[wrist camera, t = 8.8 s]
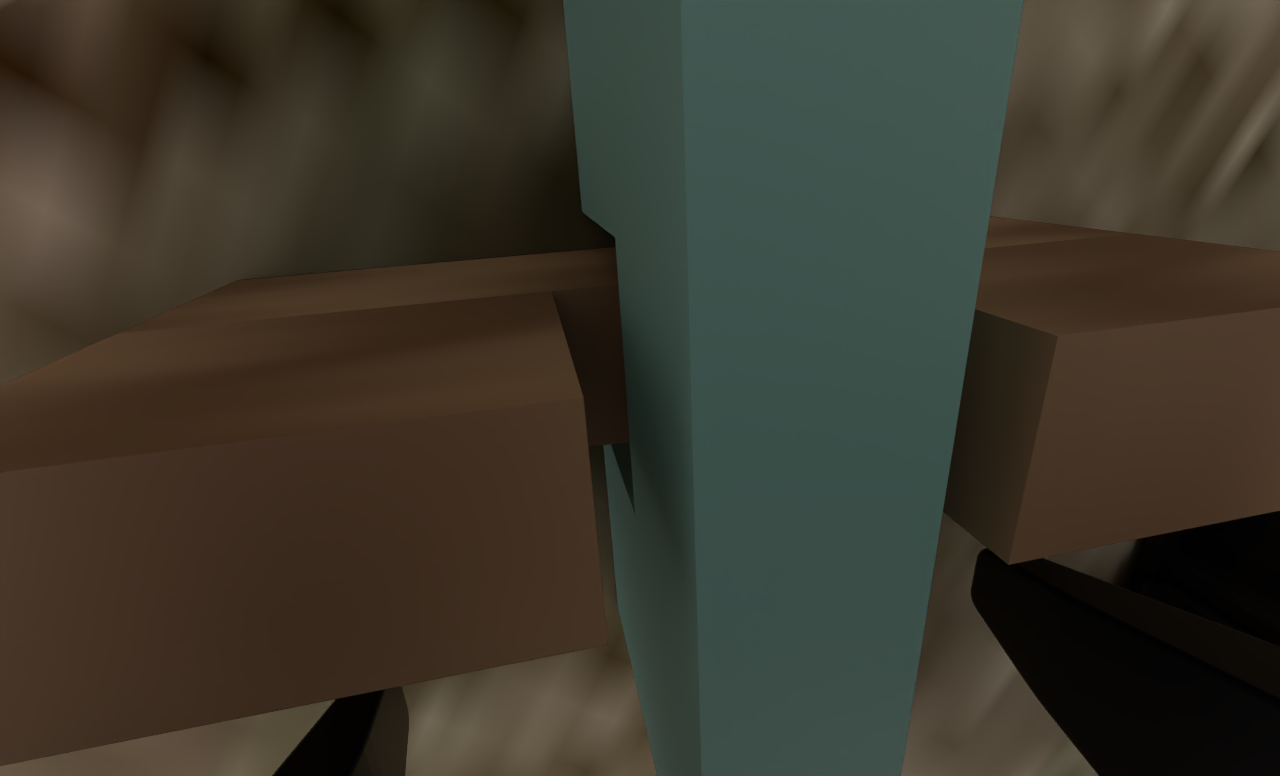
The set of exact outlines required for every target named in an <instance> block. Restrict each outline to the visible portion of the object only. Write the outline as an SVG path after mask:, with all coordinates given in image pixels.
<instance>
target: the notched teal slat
mask: <svg viewBox="0 0 1280 776" xmlns="http://www.w3.org/2000/svg"><path fill="white" fill-rule="evenodd" d="M1023 2H1024V0H563V7H564V18H565V29H566V40H567V51H568V62H569V73H570V84H571V95H572V106H573V117H574V128H575V139H576V150H577V161H578V172H579V183H580V194H581V205H582V212H583V213H584V214H585V215H587V216H588V217H589V218H591V219H592V220H593V221H595V222H596V223H597V224H598V225H600V226H601V227H602V228H604V229H605V230H606V231H607V232H609V233H610V234H611V235H613V236H614V237H615V243H616V257H617V271H618V285H619V299H620V313H621V327H622V341H623V355H624V368H625V382H626V396H627V410H628V424H629V438H630V442H623V443H616V444H609V445H603V448H604V459H605V470H606V481H607V492H608V503H609V514H610V525H611V536H612V547H613V558H614V569H615V580H616V591H617V602H618V610H619V614H620V618H621V622H622V627H623V631H624V635H625V639H626V644H627V648H628V652H629V657H630V661H631V665H632V669H633V674H634V678H635V682H636V687H637V691H638V695H639V699H640V704H641V708H642V712H643V717H644V721H645V725H646V729H647V734H648V738H649V742H650V746H651V751H652V755H653V759H654V764H655V768H656V772H657V776H901V772H902V766H903V760H904V753H905V747H906V741H907V734H908V728H909V722H910V715H911V709H912V703H913V696H914V690H915V684H916V678H917V671H918V665H919V659H920V652H921V646H922V640H923V633H924V627H925V621H926V614H927V608H928V602H929V596H930V589H931V583H932V577H933V570H934V564H935V558H936V551H937V545H938V539H939V532H940V526H941V520H942V513H943V507H944V501H945V495H946V488H947V482H948V476H949V469H950V463H951V457H952V450H953V444H954V438H955V431H956V425H957V419H958V413H959V406H960V400H961V394H962V387H963V381H964V375H965V368H966V362H967V356H968V349H969V343H970V337H971V331H972V324H973V318H974V312H975V305H976V299H977V293H978V286H979V280H980V274H981V267H982V261H983V255H984V248H985V242H986V236H987V230H988V223H989V217H990V211H991V204H992V198H993V192H994V185H995V179H996V173H997V166H998V160H999V154H1000V148H1001V141H1002V135H1003V129H1004V122H1005V116H1006V110H1007V103H1008V97H1009V91H1010V84H1011V78H1012V72H1013V66H1014V59H1015V53H1016V47H1017V40H1018V34H1019V28H1020V21H1021V15H1022V9H1023Z"/></svg>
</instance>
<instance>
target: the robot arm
mask: <svg viewBox="0 0 1280 776" xmlns="http://www.w3.org/2000/svg"><path fill="white" fill-rule="evenodd" d="M971 597H972V601H973V603H974V605H975V607H976V609H977V611H978V612H979V613H980V615H981V616H982V618H983V619H984V621H985V622H986V624H987V625H988V627H989V628H990V630H991V631H992V633H993V634H994V636H995V637H996V639H997V640H998V642H999V643H1000V645H1001V646H1002V648H1003V649H1004V651H1005V652H1006V654H1007V655H1008V656H1009V658H1010V659H1011V661H1012V662H1013V664H1014V665H1015V667H1016V668H1017V670H1018V671H1019V673H1020V674H1021V676H1022V677H1023V679H1024V680H1025V682H1026V683H1027V685H1028V686H1029V687H1030V689H1031V690H1032V692H1033V693H1034V694H1035V696H1036V697H1037V699H1038V700H1039V701H1040V703H1041V704H1042V705H1043V706H1044V708H1045V709H1046V710H1047V712H1048V713H1049V714H1050V715H1051V717H1052V718H1053V719H1054V720H1055V722H1056V723H1057V724H1058V725H1059V727H1060V728H1061V729H1062V730H1063V732H1064V733H1065V734H1066V735H1067V737H1068V738H1069V739H1070V740H1071V742H1072V743H1073V744H1074V745H1075V747H1076V748H1077V749H1078V750H1079V752H1080V753H1081V754H1082V755H1083V757H1084V758H1085V759H1086V760H1087V762H1088V763H1089V764H1090V765H1091V767H1092V768H1093V769H1094V770H1095V771H1096V773H1097V774H1098V775H1099V776H1280V511H1275V512H1270V513H1265V514H1260V515H1255V516H1250V517H1245V518H1240V519H1235V520H1230V521H1225V522H1220V523H1215V524H1210V525H1205V526H1200V527H1195V528H1190V529H1185V530H1180V531H1175V532H1170V533H1165V534H1160V535H1155V536H1150V537H1147V539H1146V542H1145V545H1144V548H1143V551H1142V554H1141V557H1140V561H1139V564H1138V567H1137V570H1136V573H1135V576H1134V579H1133V583H1132V586H1131V589H1130V590H1127V589H1124V588H1122V587H1119V586H1116V585H1114V584H1111V583H1108V582H1105V581H1103V580H1100V579H1097V578H1095V577H1092V576H1089V575H1087V574H1084V573H1081V572H1079V571H1076V570H1073V569H1071V568H1068V567H1065V566H1063V565H1060V564H1057V563H1054V562H1052V561H1049V560H1046V559H1044V558H1040V559H1035V560H1030V561H1025V562H1020V563H1015V564H1010V565H1008V564H1007V563H1006V562H1004V561H1003V560H1002V559H1001V558H999V557H998V556H997V555H996V554H995V553H993V552H992V551H991V550H990V549H988V548H986V549H983V550H981V551H980V553H979V554H978V556H977V560H976V565H975V570H974V576H973V581H972V586H971ZM408 730H409V715H408V708H407V704H406V700H405V697H404V693H403V690H402V686H398V687H393V688H388V689H383V690H378V691H373V692H368V693H363V694H358V695H353V696H348V697H343V698H338V699H335V701H334V702H333V703H332V704H331V705H330V707H329V708H328V709H327V710H326V711H325V713H324V714H323V715H322V716H321V717H320V719H319V720H318V721H317V722H316V723H315V725H314V726H313V727H312V728H311V729H310V731H309V732H308V733H307V734H306V736H305V737H304V738H303V739H302V740H301V742H300V743H299V744H298V745H297V746H296V748H295V749H294V750H293V751H292V752H291V754H290V755H289V756H288V757H287V758H286V760H285V761H284V762H283V763H282V764H281V766H280V767H279V768H278V769H277V770H276V772H275V773H274V774H273V775H272V776H405V769H406V756H407V743H408Z"/></svg>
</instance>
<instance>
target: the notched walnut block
mask: <svg viewBox="0 0 1280 776" xmlns="http://www.w3.org/2000/svg"><path fill="white" fill-rule="evenodd" d="M623 442H630V438H629V424H628V410H627V396H626V382H625V368H624V355H623V341H622V327H621V313H620V299H619V285H618V271H617V257H616V247H612V248H600V249H589V250H577V251H566V252H554V253H543V254H532V255H520V256H509V257H497V258H486V259H475V260H463V261H452V262H440V263H429V264H418V265H406V266H395V267H383V268H372V269H361V270H349V271H338V272H326V273H315V274H304V275H292V276H281V277H269V278H258V279H246V280H237V281H235V282H232V283H230V284H228V285H226V286H223V287H221V288H219V289H217V290H214V291H212V292H210V293H208V294H205V295H203V296H201V297H199V298H196V299H194V300H192V301H190V302H187V303H185V304H183V305H181V306H178V307H176V308H174V309H172V310H169V311H167V312H165V313H163V314H160V315H158V316H156V317H154V318H151V319H149V320H147V321H145V322H142V323H140V324H138V325H136V326H133V327H131V328H129V329H127V330H124V331H122V332H120V333H118V334H115V335H113V336H111V337H109V338H106V339H104V340H102V341H100V342H97V343H95V344H93V345H91V346H88V347H86V348H84V349H82V350H79V351H77V352H75V353H73V354H70V355H68V356H66V357H63V358H61V359H59V360H57V361H54V362H52V363H50V364H48V365H45V366H43V367H41V368H39V369H36V370H34V371H32V372H30V373H27V374H25V375H23V376H21V377H18V378H16V379H14V380H12V381H9V382H7V383H5V384H3V385H0V766H2V765H7V764H12V763H17V762H22V761H27V760H32V759H38V758H43V757H48V756H53V755H58V754H63V753H68V752H73V751H78V750H83V749H88V748H93V747H98V746H103V745H108V744H113V743H118V742H123V741H128V740H133V739H138V738H143V737H148V736H153V735H158V734H163V733H168V732H173V731H178V730H183V729H188V728H193V727H198V726H203V725H208V724H213V723H218V722H223V721H228V720H233V719H238V718H243V717H248V716H253V715H258V714H263V713H268V712H273V711H278V710H283V709H288V708H293V707H298V706H303V705H308V704H313V703H318V702H323V701H328V700H333V699H338V698H343V697H348V696H353V695H358V694H363V693H368V692H373V691H378V690H383V689H388V688H393V687H398V686H403V685H408V684H413V683H418V682H423V681H428V680H433V679H438V678H443V677H448V676H453V675H458V674H463V673H468V672H473V671H479V670H484V669H489V668H494V667H499V666H504V665H509V664H514V663H519V662H524V661H529V660H534V659H539V658H544V657H549V656H554V655H559V654H564V653H569V652H574V651H579V650H584V649H589V648H594V647H599V646H604V645H608V638H607V628H606V618H605V608H604V598H603V588H602V578H601V568H600V558H599V548H598V538H597V528H596V518H595V508H594V498H593V488H592V478H591V468H590V458H589V448H588V447H595V446H602V445H609V444H616V443H623ZM1275 511H1280V251H1271V250H1263V249H1255V248H1247V247H1238V246H1230V245H1222V244H1214V243H1205V242H1197V241H1189V240H1181V239H1172V238H1164V237H1156V236H1148V235H1139V234H1131V233H1123V232H1115V231H1106V230H1098V229H1090V228H1082V227H1073V226H1065V225H1057V224H1049V223H1040V222H1032V221H1024V220H1016V219H1007V218H999V217H991V216H990V217H989V223H988V230H987V236H986V242H985V248H984V255H983V261H982V267H981V274H980V280H979V286H978V293H977V299H976V305H975V312H974V318H973V324H972V331H971V337H970V343H969V349H968V356H967V362H966V368H965V375H964V381H963V387H962V394H961V400H960V406H959V413H958V419H957V425H956V431H955V438H954V444H953V450H952V457H951V463H950V469H949V476H948V482H947V488H946V495H945V501H944V507H943V512H944V513H946V514H947V515H948V516H949V517H951V518H952V519H953V520H954V521H955V522H957V523H958V524H959V525H960V526H962V527H963V528H964V529H965V530H966V531H968V532H969V533H970V534H971V535H973V536H974V537H975V538H976V539H977V540H979V541H980V542H981V543H982V544H984V545H985V546H986V547H987V548H988V549H990V550H991V551H992V552H993V553H995V554H996V555H997V556H998V557H999V558H1001V559H1002V560H1003V561H1004V562H1006V563H1007V564H1008V565H1010V564H1015V563H1020V562H1025V561H1030V560H1035V559H1040V558H1045V557H1050V556H1055V555H1060V554H1065V553H1070V552H1075V551H1080V550H1085V549H1090V548H1095V547H1100V546H1105V545H1110V544H1115V543H1120V542H1125V541H1130V540H1135V539H1140V538H1145V537H1150V536H1155V535H1160V534H1165V533H1170V532H1175V531H1180V530H1185V529H1190V528H1195V527H1200V526H1205V525H1210V524H1215V523H1220V522H1225V521H1230V520H1235V519H1240V518H1245V517H1250V516H1255V515H1260V514H1265V513H1270V512H1275Z"/></svg>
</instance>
